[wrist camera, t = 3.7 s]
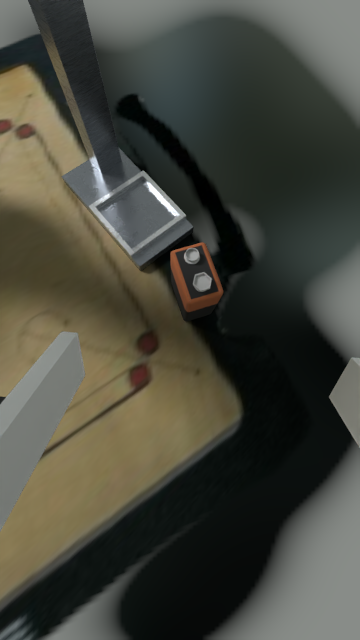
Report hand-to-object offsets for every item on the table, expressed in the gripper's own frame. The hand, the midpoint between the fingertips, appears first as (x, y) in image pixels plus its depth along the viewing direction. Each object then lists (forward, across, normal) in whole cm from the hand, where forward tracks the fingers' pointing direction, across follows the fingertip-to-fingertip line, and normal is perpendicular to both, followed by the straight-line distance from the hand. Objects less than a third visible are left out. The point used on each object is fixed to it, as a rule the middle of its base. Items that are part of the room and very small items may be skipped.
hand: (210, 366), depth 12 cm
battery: (+23, 0, -8) cm, 24 cm away
